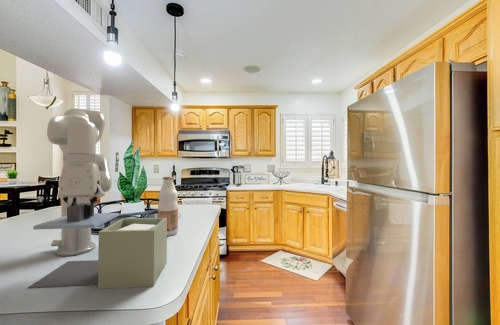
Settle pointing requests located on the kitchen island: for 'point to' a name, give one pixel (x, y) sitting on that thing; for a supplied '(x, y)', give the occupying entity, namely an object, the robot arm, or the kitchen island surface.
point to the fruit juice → (169, 205)
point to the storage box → (132, 253)
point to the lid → (77, 219)
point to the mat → (71, 275)
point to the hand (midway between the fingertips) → (81, 217)
